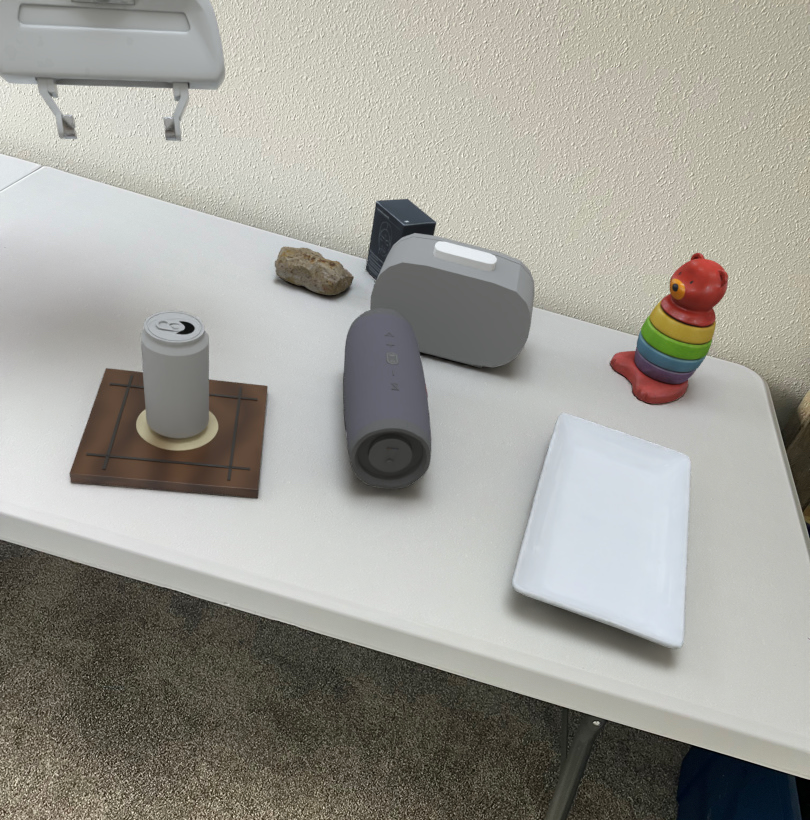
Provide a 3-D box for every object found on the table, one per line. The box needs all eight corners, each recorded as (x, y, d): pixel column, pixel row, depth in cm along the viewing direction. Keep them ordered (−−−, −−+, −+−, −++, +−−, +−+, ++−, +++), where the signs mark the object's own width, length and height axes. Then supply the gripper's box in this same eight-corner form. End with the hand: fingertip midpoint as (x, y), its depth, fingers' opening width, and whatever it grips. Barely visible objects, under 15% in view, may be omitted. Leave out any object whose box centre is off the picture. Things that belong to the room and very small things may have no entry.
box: (423, 291, 116) (437, 221, 109) (390, 295, 114) (403, 224, 106) (396, 265, 120) (408, 197, 113) (364, 269, 118) (375, 199, 110)
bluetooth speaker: (425, 502, 84) (446, 428, 77) (339, 494, 82) (351, 418, 75) (410, 379, 99) (426, 309, 92) (337, 371, 98) (347, 298, 91)
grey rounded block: (518, 344, 110) (547, 254, 101) (513, 380, 104) (544, 287, 94) (377, 308, 110) (393, 214, 101) (363, 341, 104) (379, 245, 94)
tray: (681, 474, 96) (694, 452, 93) (670, 670, 73) (686, 648, 71) (550, 431, 97) (559, 408, 95) (499, 610, 75) (509, 586, 72)
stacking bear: (604, 359, 112) (654, 240, 99) (662, 358, 115) (718, 242, 103) (641, 405, 105) (700, 283, 93) (702, 402, 108) (767, 284, 96)
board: (70, 482, 76) (68, 472, 75) (106, 376, 89) (105, 366, 88) (257, 498, 79) (258, 489, 78) (267, 394, 92) (267, 384, 91)
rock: (338, 305, 109) (342, 276, 106) (264, 281, 110) (265, 252, 107) (355, 282, 114) (360, 254, 111) (284, 259, 115) (287, 231, 112)
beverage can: (205, 446, 82) (206, 347, 73) (141, 440, 80) (134, 339, 72) (211, 409, 86) (212, 311, 78) (150, 403, 85) (145, 303, 76)
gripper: (-39, -58, 64) (-7, 130, 68) (217, -40, 69) (232, 134, 73) (-20, -29, 70) (8, 143, 74) (214, -14, 75) (229, 146, 79)
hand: (121, 139), depth 74 cm, fingers open, 8 cm apart
